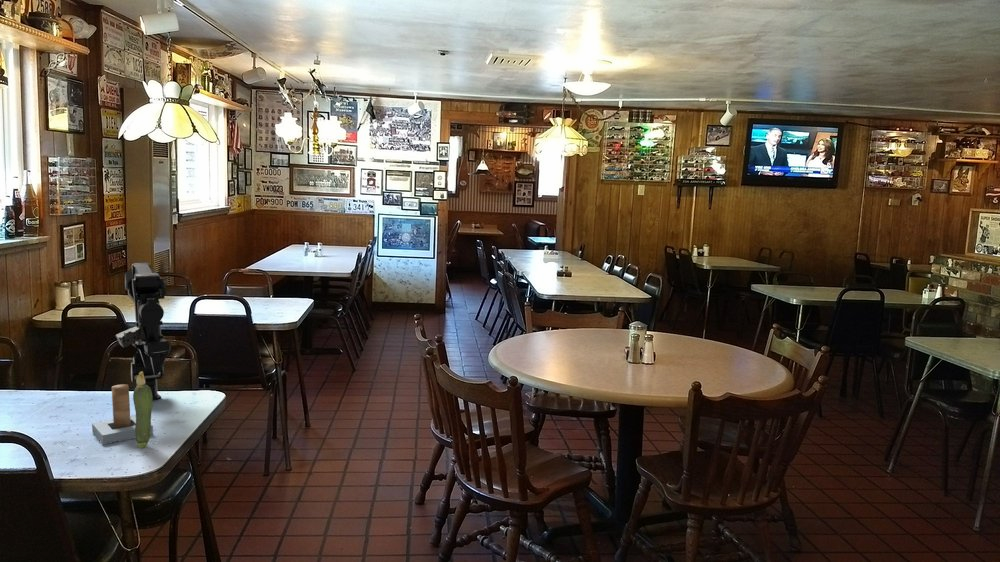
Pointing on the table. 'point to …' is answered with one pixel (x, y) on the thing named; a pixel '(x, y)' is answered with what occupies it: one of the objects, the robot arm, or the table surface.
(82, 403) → the table surface
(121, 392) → the peg
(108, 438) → the socket
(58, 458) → the table surface
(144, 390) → the vegetable
